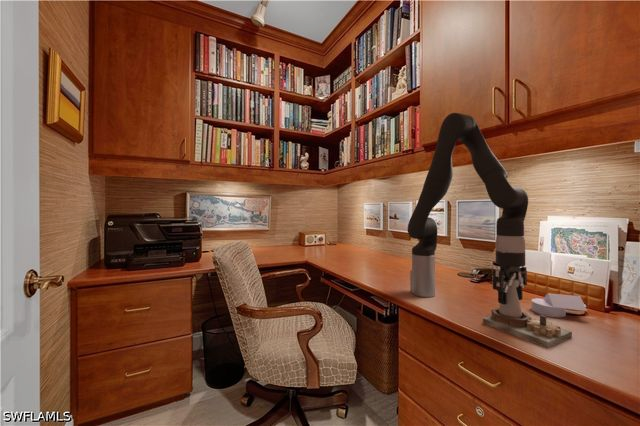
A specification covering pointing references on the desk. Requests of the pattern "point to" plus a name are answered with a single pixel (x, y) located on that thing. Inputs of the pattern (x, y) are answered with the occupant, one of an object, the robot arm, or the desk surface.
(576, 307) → the wedge on round base
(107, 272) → the desk surface
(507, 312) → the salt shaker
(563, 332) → the peg board
